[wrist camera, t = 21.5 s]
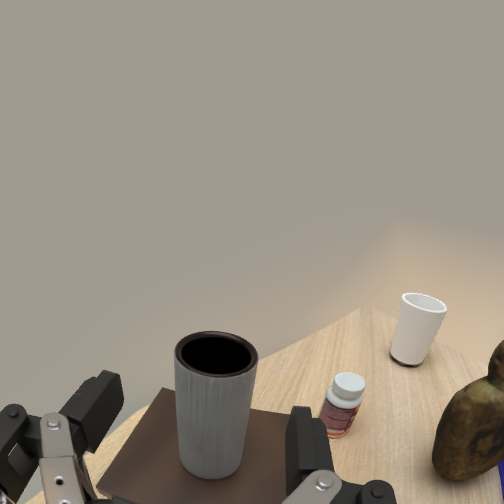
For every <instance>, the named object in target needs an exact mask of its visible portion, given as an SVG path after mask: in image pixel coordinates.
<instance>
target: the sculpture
mask: <svg viewBox="0 0 504 504" xmlns="http://www.w3.org/2000/svg"><path fill="white" fill-rule="evenodd" d="M503 459H504V340H503V341H502V342H501V343H500V344H499V345H498V346H497V348H496V349H495V350H494V353H493V354H492V357H491V359H490V362H489V365H488V375H487V376H485V377H483V378H480V379H478V380H476V381H473V382H472V383H470V384H468V385H467V386H465V387H464V388H463V389H461V390H460V391H458V392H456V393H455V394H454V396H453V397H452V399H451V400H450V402H449V403H448V405H447V407H446V408H445V410H444V412H443V414H442V417H441V419H440V422H439V424H438V427H437V431H436V437H435V441H434V446H433V452H432V463H433V466H434V468H435V469H436V471H437V472H438V473H440V474H441V475H442V476H443V477H445V478H448V479H451V480H466V479H470V478H474V477H476V476H478V475H481V474H483V473H485V472H486V471H488V470H490V469H491V468H493V467H494V466H495V465H497V464H498V463H499V462H501V461H502V460H503Z"/></svg>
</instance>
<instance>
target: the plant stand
mask: <svg viewBox="0 0 504 504" xmlns="http://www.w3.org/2000/svg"><path fill="white" fill-rule="evenodd" d="M289 417H290V414H282V413H275V412H268V411H262V410H256V409H251V408H250V412H249V418H248V424H247V429H246V435H245V441H244V446H243V452H242V457H241V461H240V464H239V467H238V468H237V470H236V471H235V472H234V473H232V474H231V475H229V476H227V477H225V478H221V479H214V480H211V479H203V478H200V477H197V476H195V475H193V474H191V473H190V472H189V471H188V470H186V468H185V467H184V466H183V464H182V462H181V459H180V454H179V443H178V430H177V415H176V396H175V391H173V390H170V389H166V388H162V389H161V390H160V392H159V393H158V395H157V396H156V398H155V399H154V401H153V402H152V404H151V405H150V406H149V408H148V409H147V411H146V412H145V414H144V415H143V417H142V418H141V420H140V421H139V423H138V424H137V426H136V427H135V429H134V430H133V432H132V433H131V435H130V436H129V438H128V439H127V441H126V442H125V444H124V445H123V447H122V448H121V450H120V451H119V453H118V454H117V456H116V457H115V458H114V460H113V461H112V463H111V464H110V466H109V467H108V469H107V470H106V472H105V473H104V475H103V476H102V478H101V479H100V481H99V482H98V484H97V485H96V488H97V490H98V491H99V493H100V494H102V495H104V496H106V497H107V498H108V499H110V500H111V499H112V497H113V495H116V496H118V497H121V498H124V499H127V500H129V501H132V502H135V503H138V504H281V503H282V502H283V501H284V500H285V499H287V498H288V497H289V496H286V462H285V433H286V427H287V424H288V421H289Z"/></svg>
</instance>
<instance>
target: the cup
mask: <svg viewBox="0 0 504 504" xmlns="http://www.w3.org/2000/svg"><path fill="white" fill-rule="evenodd" d="M446 312H447V307H446V305H445V304H444V303H443V302H441V301H440V300H437V299H436V298H433V297H431V296H428V295H424V294H420V293H405V294H403V295H402V299H401V304H400V309H399V314H398V319H397V323H396V328H395V332H394V337H393V341H392V345H391V349H390V357H392V358H395V359H396V360H397V361H398V363H399V365H412V366H414V367H416V366H418V365H419V364H420V363H421V362H422V361H423V360H424V358H425V356H426V354H427V352H428V350H429V348H430V346H431V344H432V342H433V340H434V338H435V336H436V334H437V332H438V330H439V327H440V325H441V323H442V321H443V319H444V316H445V314H446Z"/></svg>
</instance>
